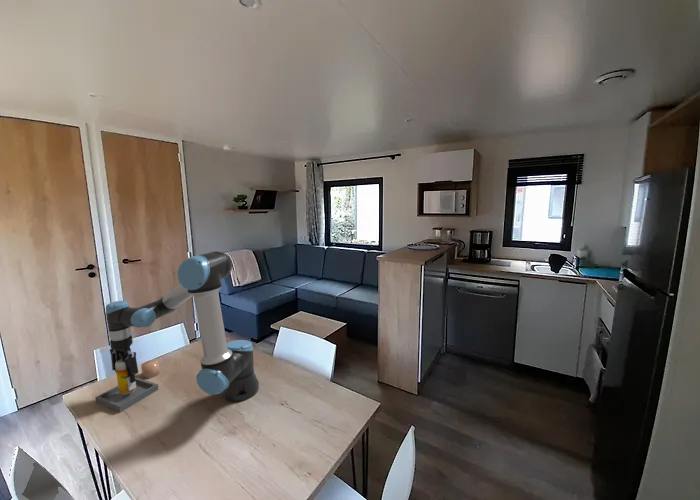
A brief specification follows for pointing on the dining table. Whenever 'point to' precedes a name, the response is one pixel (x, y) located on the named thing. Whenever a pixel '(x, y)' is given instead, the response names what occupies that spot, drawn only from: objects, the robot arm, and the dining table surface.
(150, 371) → the light brown rounded lump
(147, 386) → the tray
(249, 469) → the dining table surface
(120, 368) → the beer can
